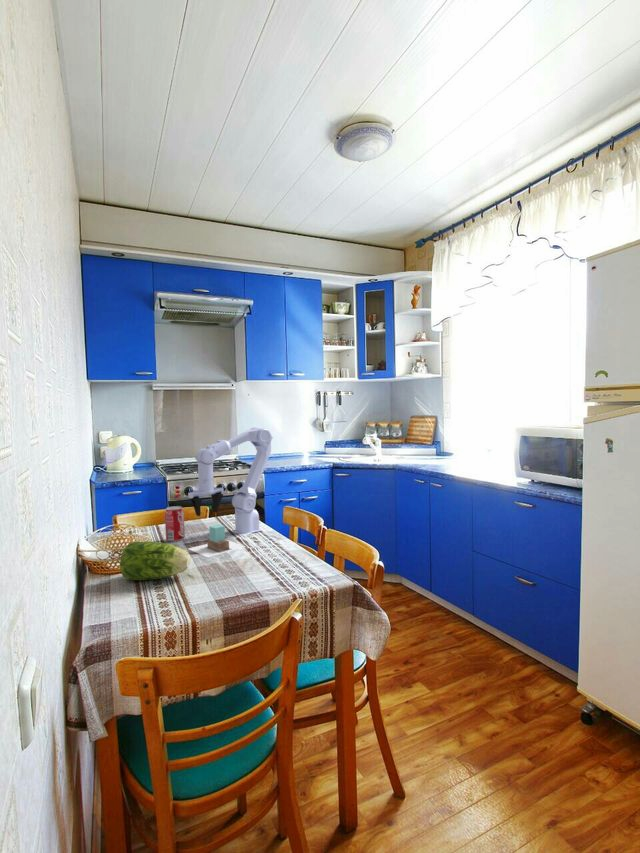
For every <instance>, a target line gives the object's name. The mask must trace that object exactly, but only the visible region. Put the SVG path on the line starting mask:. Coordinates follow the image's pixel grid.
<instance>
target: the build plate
mask: <svg viewBox="0 0 640 853" xmlns="http://www.w3.org/2000/svg"><path fill="white" fill-rule="evenodd" d="M225 540H227V541H229V549H228V550H225V551H221V552H219V551H216V550H213V549H211V548H208V543H205V544H202V545H198V546H193V547H189V548H188V550H189V551H191V552H194V553H197V554H199V555H200V556H203V557H205V558H210V557H214V556H217V555H222V554H225V553H228V552H232V551H236V550H239V549H243V548H246V546H245V545H243V544H239V543H237V542H234V541H231V540H228V539H226V538H225Z"/></svg>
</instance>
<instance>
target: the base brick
mask: <svg viewBox="0 0 640 853" xmlns="http://www.w3.org/2000/svg"><path fill="white" fill-rule="evenodd" d="M227 540H228V539H226V540H222V541H219V542H214V541H211V540H210V538H208V539H207V544H208V548H211V549H213V550H216V551H219V552H221V551H225V550H228V549H229V541H230V540H229V541H227Z"/></svg>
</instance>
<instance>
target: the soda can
mask: <svg viewBox="0 0 640 853" xmlns="http://www.w3.org/2000/svg"><path fill="white" fill-rule="evenodd" d="M164 526H165V541H167V542H168V543H174V542H178V541H179V542H180V541H182V540H183V541H184V540H185V538H186V536H185V535H186V531H185V511H184V509H183V507H182V506H181V505H176V506H175V505H174V506H167V507H166V508H165V512H164Z"/></svg>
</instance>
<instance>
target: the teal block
mask: <svg viewBox="0 0 640 853" xmlns="http://www.w3.org/2000/svg"><path fill="white" fill-rule="evenodd" d="M208 529H209V539H210V540H211V541H214V542H219V541H222V540H225V539H226V526H225V525H222V524H215V525H211V526H210V525H209V528H208Z"/></svg>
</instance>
